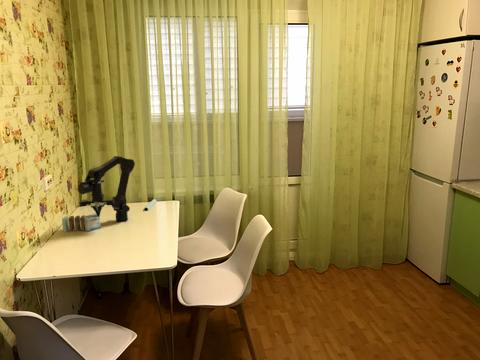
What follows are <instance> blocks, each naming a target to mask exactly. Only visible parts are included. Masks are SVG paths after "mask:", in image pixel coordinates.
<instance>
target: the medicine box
mask: <svg viewBox="0 0 480 360" xmlns="http://www.w3.org/2000/svg"><path fill="white" fill-rule="evenodd" d="M100 216H101V215H100ZM100 216H99V217H98V216H97V214H96V212H95V213H92V214H88V215H85V216H84V226H85V231H86V232H92V231H95V230H98V229H101V226H102V225H101V218H100Z"/></svg>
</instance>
